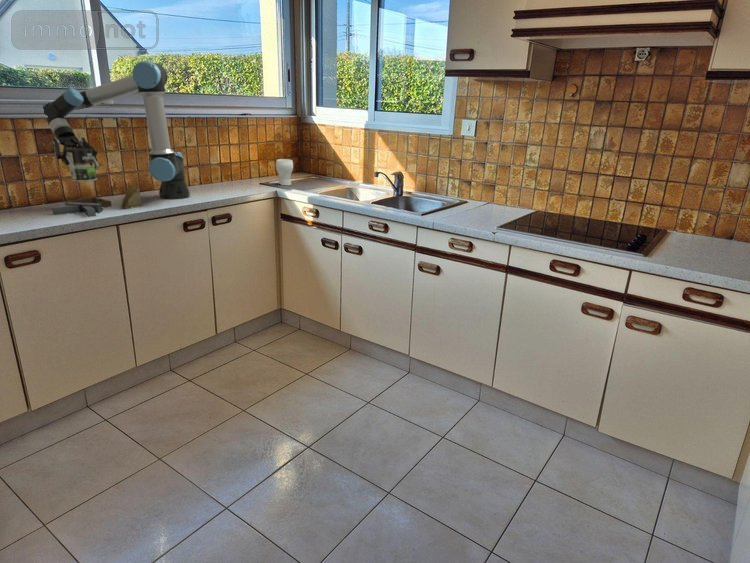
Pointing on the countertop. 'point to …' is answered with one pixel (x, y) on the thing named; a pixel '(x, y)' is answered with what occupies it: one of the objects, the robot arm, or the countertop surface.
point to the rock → (131, 198)
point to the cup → (284, 170)
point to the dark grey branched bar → (78, 208)
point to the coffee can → (82, 164)
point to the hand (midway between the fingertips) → (85, 168)
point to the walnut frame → (92, 201)
